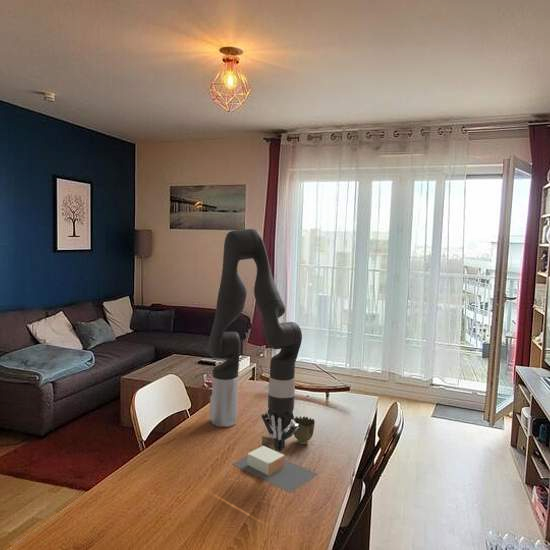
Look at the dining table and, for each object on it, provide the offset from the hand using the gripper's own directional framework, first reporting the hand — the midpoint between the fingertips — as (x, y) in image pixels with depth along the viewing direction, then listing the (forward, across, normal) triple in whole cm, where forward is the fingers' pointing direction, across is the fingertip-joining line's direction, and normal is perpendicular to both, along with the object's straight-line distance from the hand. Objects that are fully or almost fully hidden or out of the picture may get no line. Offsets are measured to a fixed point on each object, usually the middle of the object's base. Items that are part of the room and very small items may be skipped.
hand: (279, 450), depth 131 cm
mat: (+7, -2, 0) cm, 7 cm away
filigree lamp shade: (+7, -6, +20) cm, 22 cm away
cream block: (+5, 0, 0) cm, 5 cm away
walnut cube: (+7, -11, +10) cm, 16 cm away
